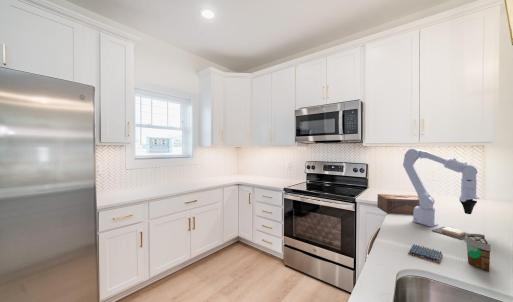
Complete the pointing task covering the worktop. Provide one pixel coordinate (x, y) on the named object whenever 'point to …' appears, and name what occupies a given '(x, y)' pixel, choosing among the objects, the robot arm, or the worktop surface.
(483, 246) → the food container
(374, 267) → the worktop surface
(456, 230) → the tile
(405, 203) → the tissue box cover
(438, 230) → the mat
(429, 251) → the spiky blue-grey pad
